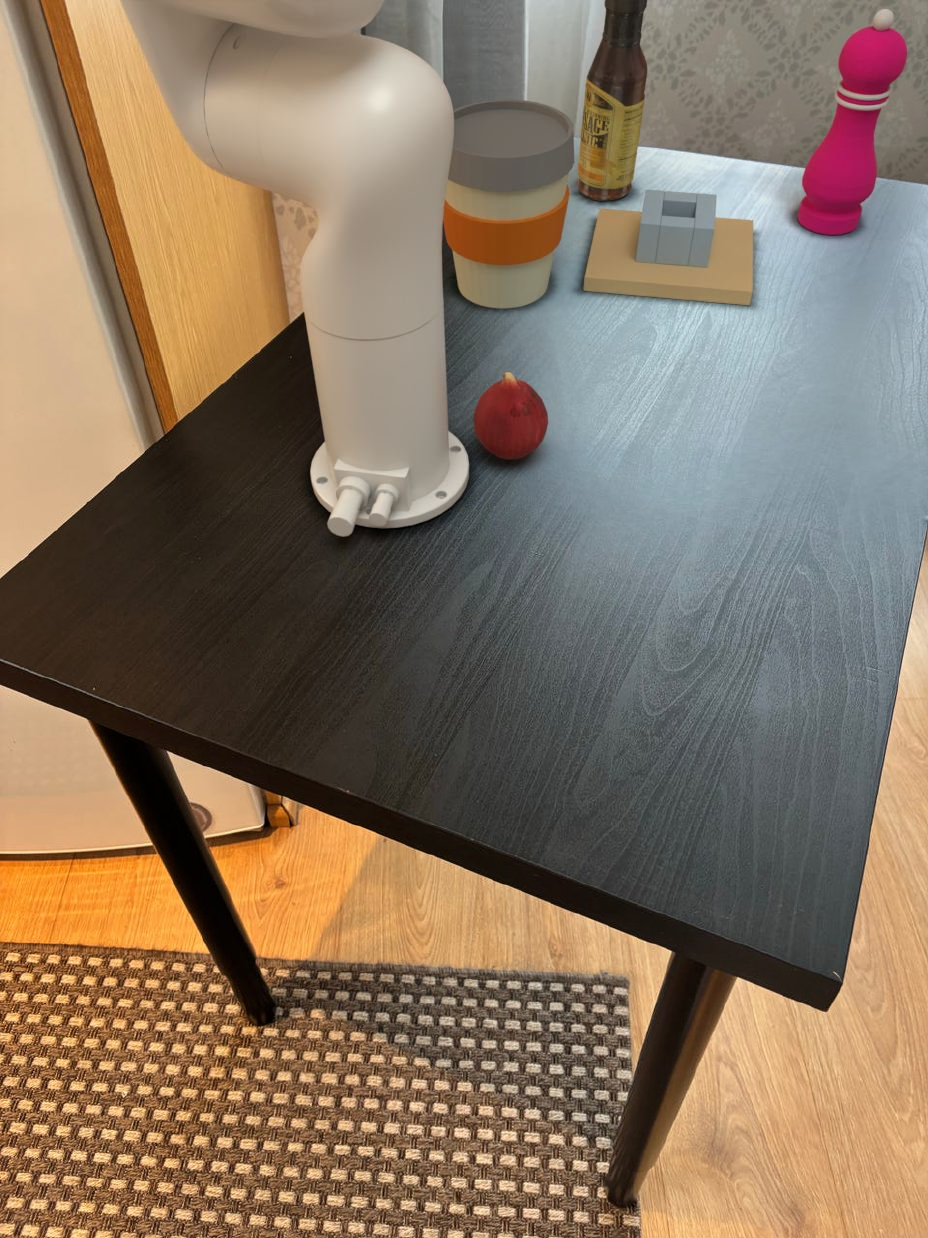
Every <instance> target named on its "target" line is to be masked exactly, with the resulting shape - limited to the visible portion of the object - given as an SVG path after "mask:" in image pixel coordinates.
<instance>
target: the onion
mask: <svg viewBox="0 0 928 1238" xmlns="http://www.w3.org/2000/svg"><path fill="white" fill-rule="evenodd" d="M502 377H503V378H502V379H501V380H499V381H496V382H494V383H493V384H491V386H489V387H488V388H487V389H486V390H485V391H483V393H482V394H481V396H480V398H479V400H478V401H477V404H476V405H475V408H474V411H473V417H472V420H473V428H474V433H475V435H476V436H475V437H476V438H477V439H478V441H479V442H480V444H482V446H483V447H484V449H485V450H486V451H488V452H490V453H491V454H493V455H494V456H496V457H497V458H500V459H504V460H511V461H512V460H518V459H521V458H524V457H526V456H527V455H530V454H531V453H532V452H533V451H535V450H536V449H538V448H539V446H540V445H541V443H542V442H543V441H544V439H545V435H546V433H547V430H548V425H549V416H548V415H549V414H548V411H547V408H546V404H545V402H544V401H543V399H542V397H541V396H540V394H538V392H537V391H536V390H535V389H534V388H533V387H532V385H530V384H529V383H528V382H527V381H524V380H521V379H518V378H517V377H515V375H514V373H512V372H510V371H504V372H503V374H502Z"/></svg>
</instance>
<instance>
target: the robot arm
mask: <svg viewBox="0 0 928 1238" xmlns="http://www.w3.org/2000/svg"><path fill="white" fill-rule="evenodd" d="M385 1H386V0H119V2H120V4H121V6H122V9H123V11H124V14H125V16H126V18H127V21H128V22H129V24H130V27H131V29H132V32H133V33H134V37H135V38H136V40H137V43H138V45H139V47H140V49H141V51H142V54H143V55H144V58H145V60H146V63H147V65H148V67H149V70H150V72H151V74H152V77H153V78H154V80H155V83H156V85H157V87H158V89H159V92H160V94H161V96H162V99H163V100H164V103H165V105H166V107H167V109H168V111H169V113H170V115H171V117H172V119H173V122H174V124H175V126H176V128H177V129H178V131H179V134H180V135H181V137H182V139H183V140H184V141H185V143H186V145H187V146H188V147H189V148H190V149H191V151H192V152H193V154H194V155H195V156H196V157H197V158H198V159H199V160H200V161H201V162H202V163H203V164H204V165H205V166H207V167H208V168H209V169H211V170H212V171H214V172H215V173H218V174H220V175H222V176H224V177H226V178H229V179H231V180H233V181H237V182H240V183H242V184H245V185H248V186H251V187H254V188H258V189H259V190H260V189H261V190H264V191H266V192H270V193H273V194H277V195H279V196H282V197H287V198H288V199H290V200H293V201H296V202H299V203H301V204H304V205H307V206H308V207H310V208H311V209H313V210H314V212H315V213H316V215H317V220H318V225H317V229H316V232H315V233H314V235H313V237H312V239H311V240H310V242H309V243H308V245H307V247H306V249H305V251H304V253H303V256H302V259H301V262H300V268H299V288H300V297H301V303H302V308H303V313H304V319H305V323H306V324H305V326H306V332H307V337H308V343H309V349H310V357H311V362H312V369H313V374H314V381H315V387H316V393H317V394H316V395H317V401H318V407H319V412H320V417H321V418H320V419H321V425H322V431H323V437H324V442H323V443H321V445H320V446H319V448H318V449H317V450H316V452H315V454H314V456H313V458H312V461H311V465H310V480H311V486H312V489H313V493H314V495H315V497H316V499H317V500H318V502H319V504H321V505H322V507H323V508H324V509H326V510H327V512H329V513H330V515H329V517H328V520H327V523H326V524H327V528H328V530H329V531H330V532H331V533H332V534H334V535H336V536H338V537H342V538H343V537H349V536H350V535H351V534H352V533H353V532H354V529H355V527H356V525H357V526H362V527H366V528H374V529H375V528H377V529H396V528H397V529H398V528H399V529H400V528H404V527H408V526H409V527H410V526H415V525H417V524H420V523H424V522H426V521H427V522H428V521H430V520H431V519H433V518H436V517H438V516H440V515H441V514H443V513H444V512H445V511H447V510H448V509H450V508H451V507H453V506H454V505H455V503H456V502H457V501H458V500H459V499H461V497H462V495H463V493H464V492H465V490H466V488H467V486H468V483H469V479H470V462H469V461H470V460H469V455H468V453H467V450H466V448H465V446H464V444H463V443H462V442H461V440H460V439H459V438H458V437H457V436H456V435H454V433H452V432H451V431H450V430H449V411H448V385H447V383H448V381H447V359H446V333H445V332H446V331H445V306H444V305H445V304H444V290H443V289H444V288H443V283H444V282H443V226H444V222H443V213H444V203H445V195H446V187H447V181H448V175H449V168H450V162H451V156H452V148H453V139H454V113H453V110H454V107H453V103H452V98H451V96H450V93H449V91H448V88H447V87H446V84H445V82H444V81H443V79H442V77H441V76H440V75H439V74H438V72H437V71H436V70H435V69H434V68H433V67H432V66H431V65H430V64H429V63H428V62H427V61H426V60H425V59H423V58H421V57H420V56H419V55H417V54H416V53H414V52H412V51H411V50H409V49H408V48H407V49H406V48H404V47H402V46H400V45H398V44H396V43H393V42H391V41H387V40H384V39H382V38H378V37H374V36H369V35H364V34H360V33H356V32H357V31H359V30H361V29H363V28H364V27H366V26H367V25H369V24H370V23H371V22H372V21H373V20H374V19H375V17H376V16H377V14H378V13H379V12H380V10H381V9H382V6H383V5H384V3H385Z"/></svg>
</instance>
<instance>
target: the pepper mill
mask: <svg viewBox="0 0 928 1238" xmlns="http://www.w3.org/2000/svg"><path fill="white" fill-rule="evenodd" d="M894 20H895V15H894V13H893V11H892V10H891V9H889V8H883V9H879V11H877V12H876V13H875V14H874V16H873V18H872V25H871V26H866V27H863V28H861V29H858V30H857V31H856V32H854V33H852V35H850V36H849V37H848V38H847V40H846V41H845V43H844V44H843V46H842V48H841V51H840V53H839V57H838V63H837V66H838V71H839V73H840V76H841V80H839V82H838V83H837V86H836V88H837V90H836V92H835V94H834V100H835V102H836V103H837V105H836V111H835V115H834V118H833V121H832V124H831V126H830V128H829V130H828V132H827V133H826V135H825V137H824V138H823V140H822V141H821V143H820V144H819V145H818V147H817V148H816V150H815V151H814V152H813V154H812V155H811V156H810V158H809V161H808V162H807V164H806V166H805V168H804V170H803V171H804V172H803V175H802V177H801V187H802V189H803V191H804V194H805V195H806V196H804V197H803V198H802V199H801V202H800V205H799V209H798V212H797V213H798V214H797V220H798V222H799V224H800V225H801V226H802V227H803V228H805V229H807V230H808V231H811V232H813V233H816V234H821V235H827V236H840V235H845V234H848V233H851V232H853V231H854V230H856V229H857V228H858V225H859V222H860V219H861V216H862V213H863V206H862V205H861V204H862V203H863V202H865V201H866V200H867V199H868V198H870V196H871V195H872V194H873V193H874V190H875V187H876V181H877V178H878V177H877V176H878V164H877V163H878V162H877V158H876V157H877V156H876V152H875V132H876V127H877V123H878V119H879V117H880V114H881V111H882V109H883V108H884V107H886V106H887V105H888V104H889V102H890V99H889V98H890V95H891V94H892V92H893V91H892V90H893V89H892V86H891V84H892V83H893V82H895V81H896V80H897V79H898V78H899V77H900V76H901V74H902V73H903V72H904V69H905V67H906V64H907V59H908V46H907V42H906V40H905V39H904V37H903V35H902V34H901V33H900V32H899V31H897V30H895V29H894V28H891V27H892V25H893V24H894Z"/></svg>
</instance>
